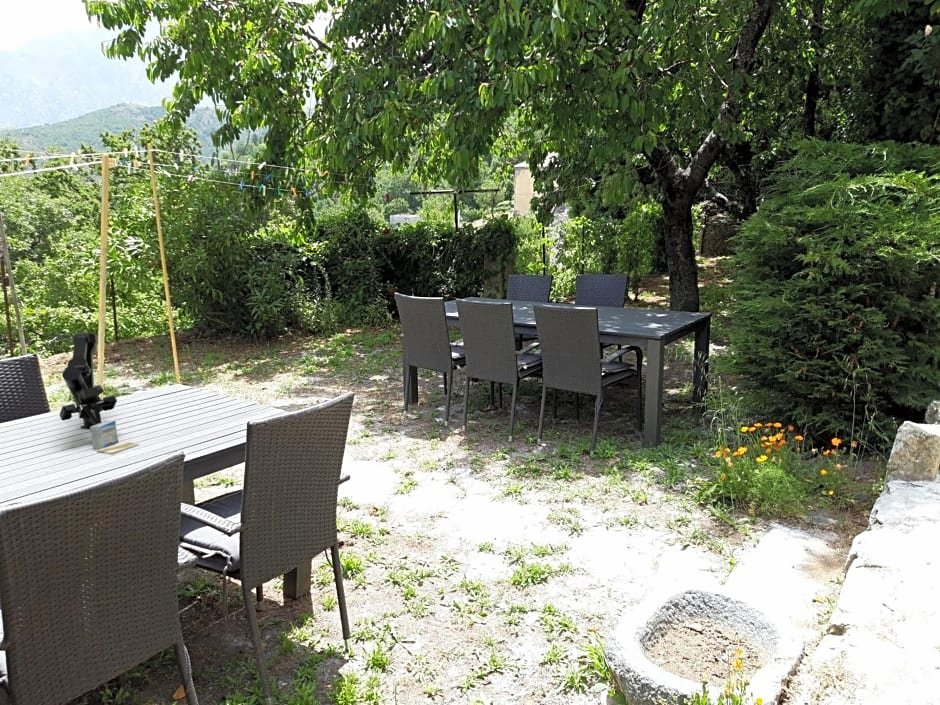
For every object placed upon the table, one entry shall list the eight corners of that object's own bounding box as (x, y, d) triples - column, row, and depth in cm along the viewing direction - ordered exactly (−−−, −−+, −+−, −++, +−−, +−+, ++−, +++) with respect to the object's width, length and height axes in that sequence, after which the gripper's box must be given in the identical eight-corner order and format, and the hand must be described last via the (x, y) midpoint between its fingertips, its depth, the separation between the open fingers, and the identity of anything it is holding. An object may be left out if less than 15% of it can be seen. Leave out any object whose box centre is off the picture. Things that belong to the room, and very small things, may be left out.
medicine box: (103, 449, 249) (100, 426, 248) (92, 449, 250) (89, 426, 249) (118, 443, 257) (115, 420, 255) (108, 442, 258) (105, 420, 256)
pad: (96, 452, 247) (96, 450, 247) (123, 442, 257) (123, 441, 257) (112, 454, 244) (111, 453, 243) (138, 445, 253) (138, 443, 253)
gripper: (58, 384, 247) (76, 418, 242) (111, 374, 262) (129, 406, 257) (52, 403, 253) (69, 436, 249) (104, 392, 268) (121, 424, 263)
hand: (98, 425), depth 254 cm, fingers closed
